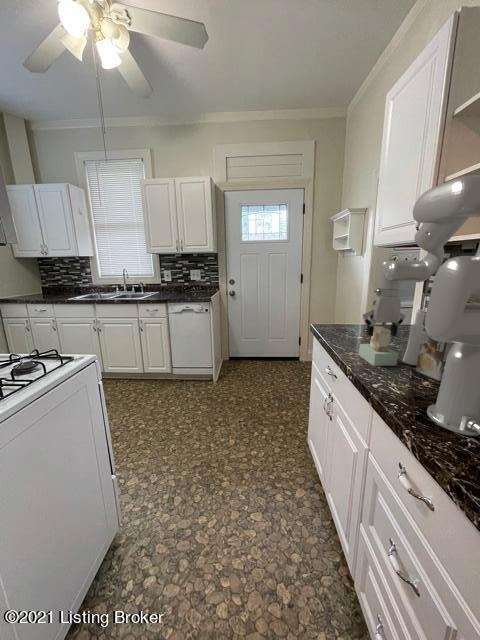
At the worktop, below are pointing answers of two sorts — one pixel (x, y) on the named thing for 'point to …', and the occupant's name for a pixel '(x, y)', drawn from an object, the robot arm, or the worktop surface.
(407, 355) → the cosmetic bottle
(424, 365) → the coffee box
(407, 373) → the worktop surface
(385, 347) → the beige rectangular block
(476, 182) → the robot arm
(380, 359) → the end cap
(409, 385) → the worktop surface
